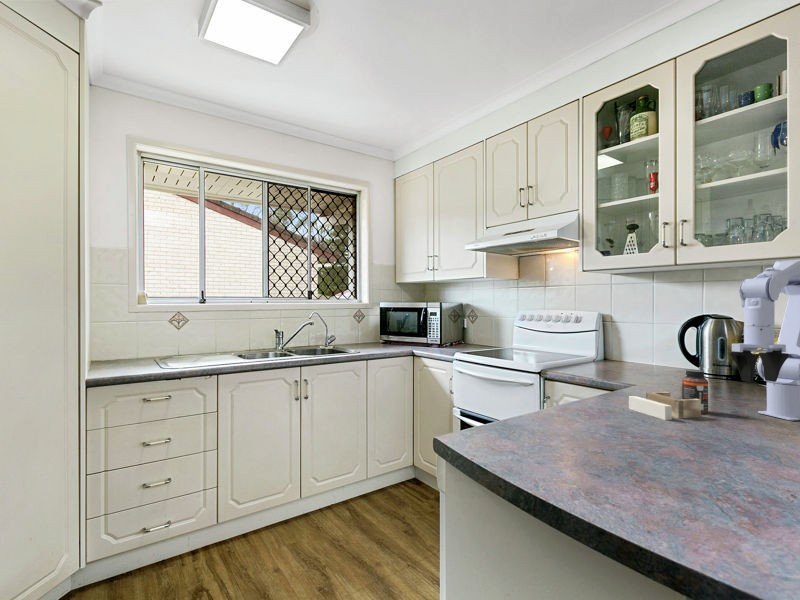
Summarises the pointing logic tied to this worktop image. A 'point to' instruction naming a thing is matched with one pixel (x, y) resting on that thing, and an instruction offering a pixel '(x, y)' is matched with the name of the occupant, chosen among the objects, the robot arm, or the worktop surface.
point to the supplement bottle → (696, 388)
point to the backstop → (650, 407)
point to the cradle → (677, 404)
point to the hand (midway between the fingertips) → (759, 381)
